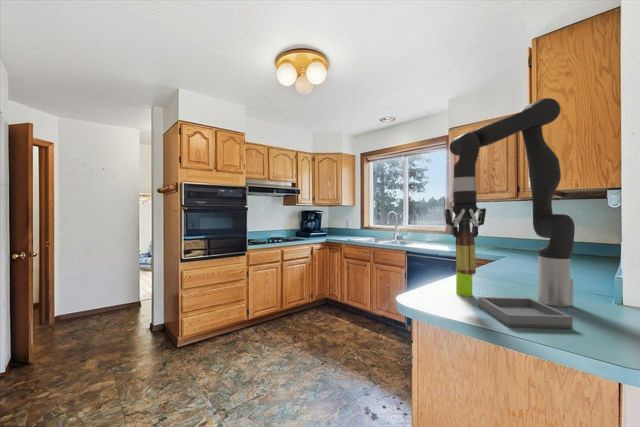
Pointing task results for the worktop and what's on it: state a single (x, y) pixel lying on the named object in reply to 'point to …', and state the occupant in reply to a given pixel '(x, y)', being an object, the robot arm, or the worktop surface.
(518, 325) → the charcoal tray
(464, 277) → the soap dispenser
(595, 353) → the worktop surface
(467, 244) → the sauce bottle
